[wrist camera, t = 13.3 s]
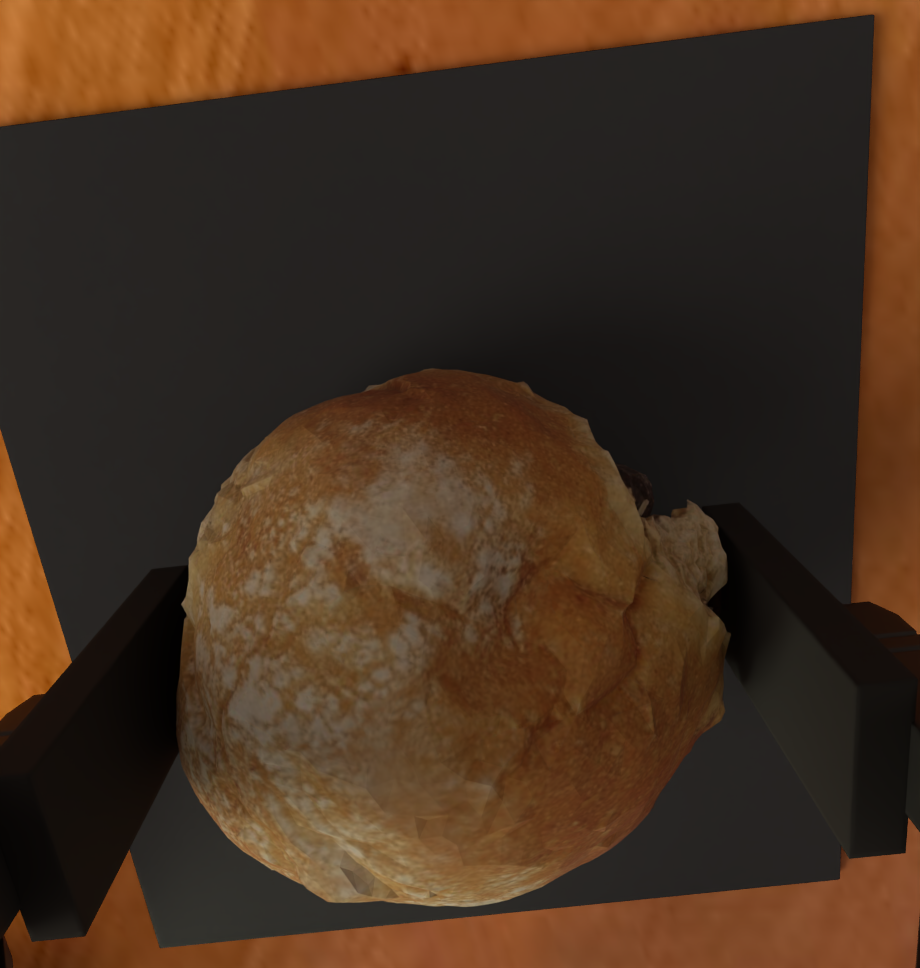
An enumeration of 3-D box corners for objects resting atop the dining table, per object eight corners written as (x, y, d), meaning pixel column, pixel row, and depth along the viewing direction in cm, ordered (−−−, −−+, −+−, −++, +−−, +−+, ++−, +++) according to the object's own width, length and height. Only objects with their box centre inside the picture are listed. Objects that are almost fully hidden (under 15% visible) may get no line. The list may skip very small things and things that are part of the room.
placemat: (162, 940, 22) (159, 948, 21) (-82, 139, 15) (-90, 137, 15) (836, 872, 21) (839, 879, 21) (868, 16, 15) (875, 13, 15)
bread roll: (324, 324, 19) (12, 368, 12) (793, 390, 15) (749, 516, 8) (316, 693, 22) (66, 904, 15) (704, 828, 18) (613, 1200, 11)
